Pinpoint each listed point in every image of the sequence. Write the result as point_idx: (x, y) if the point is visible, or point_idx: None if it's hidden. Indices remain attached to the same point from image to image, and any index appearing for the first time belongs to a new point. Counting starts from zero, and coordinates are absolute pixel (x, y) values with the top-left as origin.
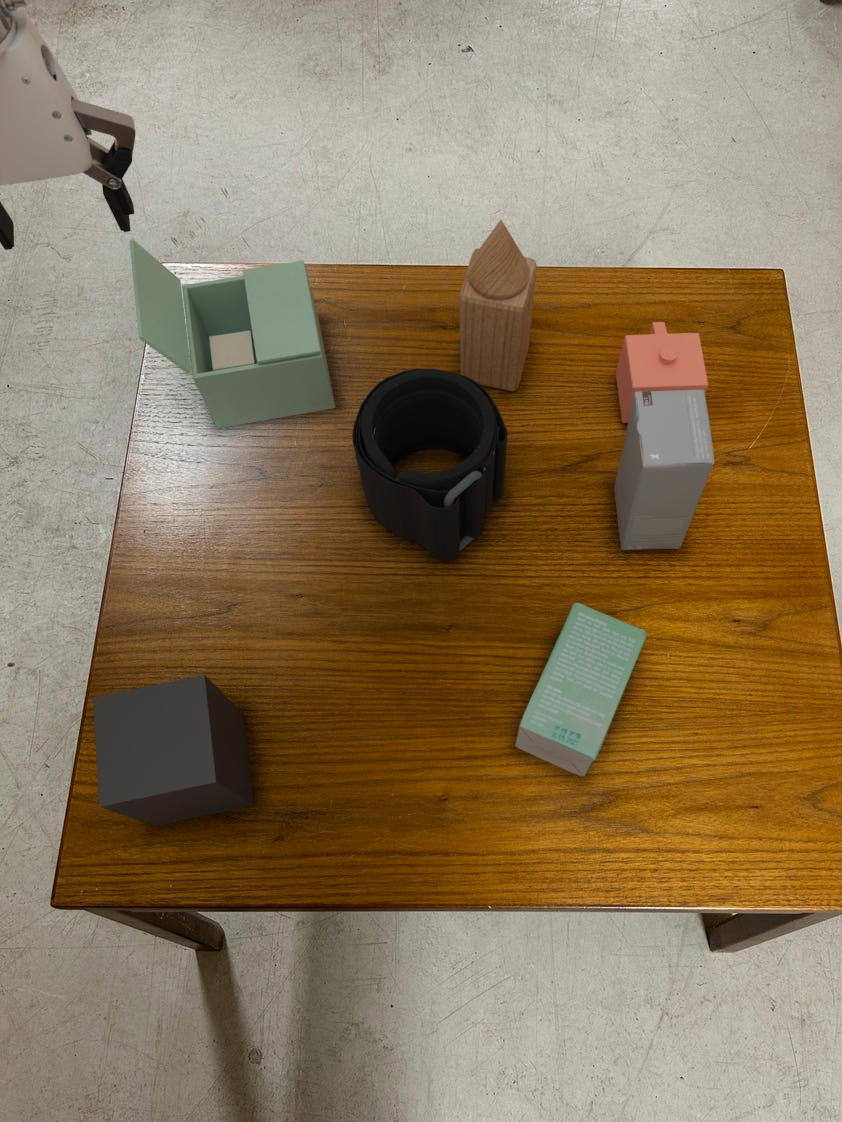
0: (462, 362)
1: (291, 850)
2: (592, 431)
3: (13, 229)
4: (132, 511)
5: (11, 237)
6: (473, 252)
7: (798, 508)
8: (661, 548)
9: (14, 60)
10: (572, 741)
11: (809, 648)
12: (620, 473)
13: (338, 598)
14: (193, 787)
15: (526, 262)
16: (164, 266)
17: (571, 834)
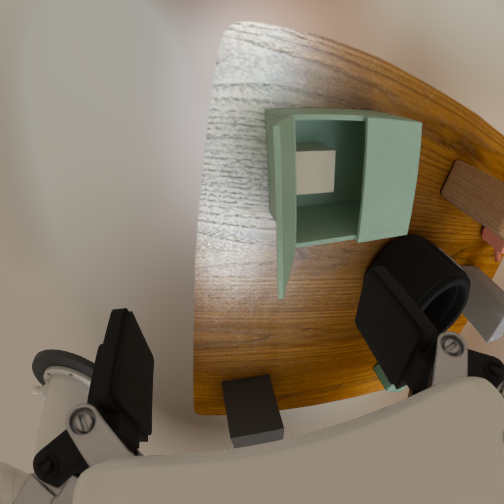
0: (454, 202)
1: (281, 402)
2: (470, 235)
3: (137, 324)
4: (197, 281)
5: (147, 353)
6: None
7: (493, 274)
8: None
9: None
10: (397, 390)
11: (464, 322)
12: (472, 288)
13: (328, 328)
14: None
15: None
16: (290, 119)
17: (374, 382)
